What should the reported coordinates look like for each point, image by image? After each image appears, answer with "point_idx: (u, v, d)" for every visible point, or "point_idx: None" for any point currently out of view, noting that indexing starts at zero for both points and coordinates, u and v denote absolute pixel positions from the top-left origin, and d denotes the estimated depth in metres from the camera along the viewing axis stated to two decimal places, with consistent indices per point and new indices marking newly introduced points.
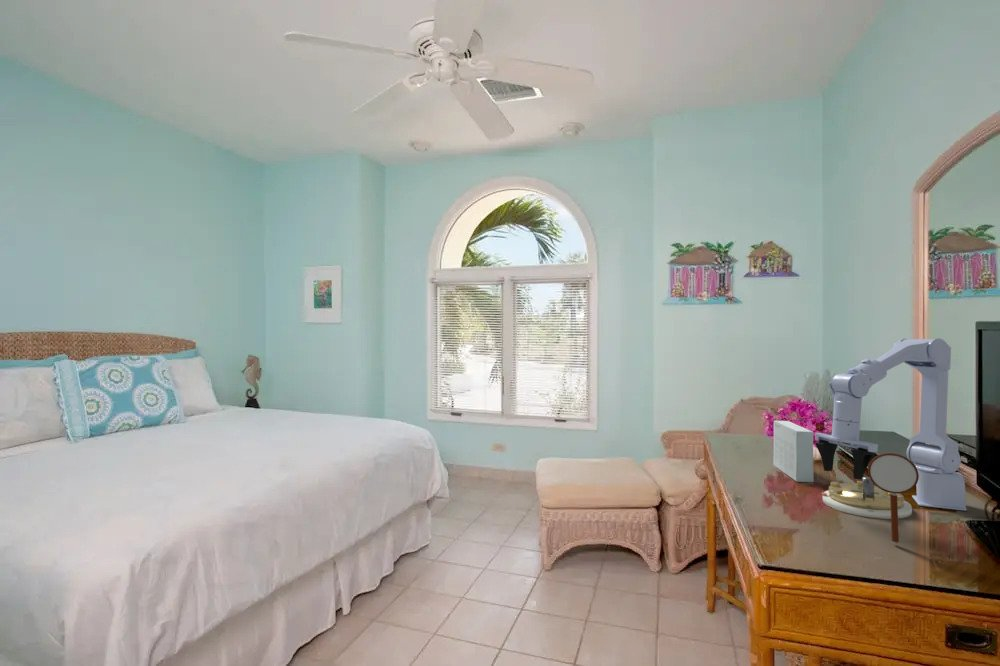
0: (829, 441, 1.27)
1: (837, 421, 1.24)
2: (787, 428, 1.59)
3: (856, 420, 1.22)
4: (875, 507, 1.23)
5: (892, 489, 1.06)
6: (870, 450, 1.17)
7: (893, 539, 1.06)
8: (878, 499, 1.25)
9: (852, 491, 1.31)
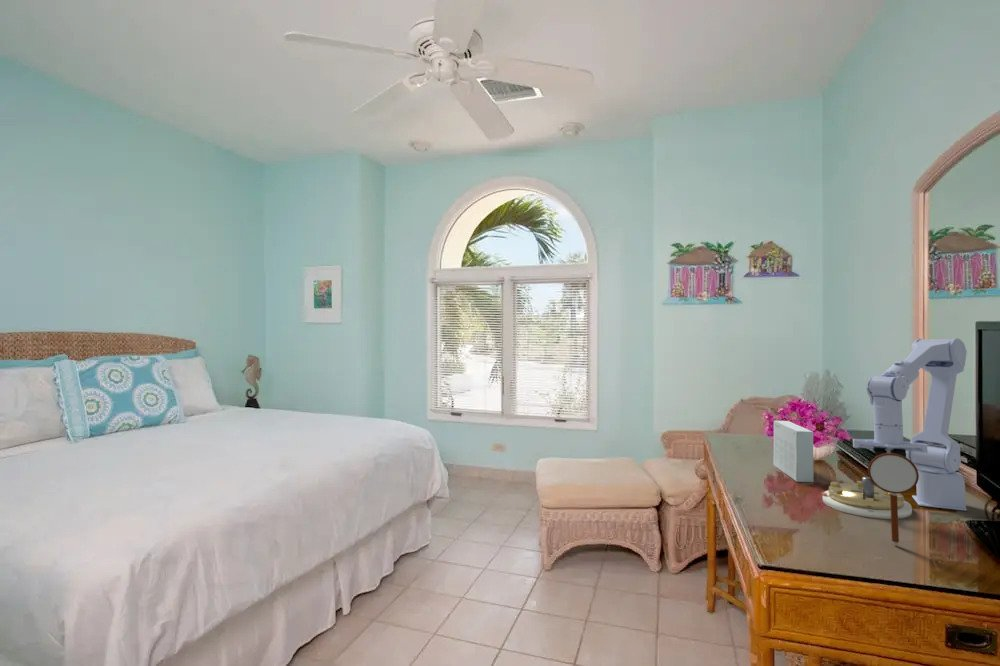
0: (870, 447, 1.24)
1: (889, 427, 1.20)
2: (787, 428, 1.59)
3: (900, 423, 1.20)
4: (875, 507, 1.23)
5: (892, 489, 1.06)
6: (925, 451, 1.18)
7: (893, 539, 1.06)
8: (878, 499, 1.25)
9: (852, 491, 1.31)
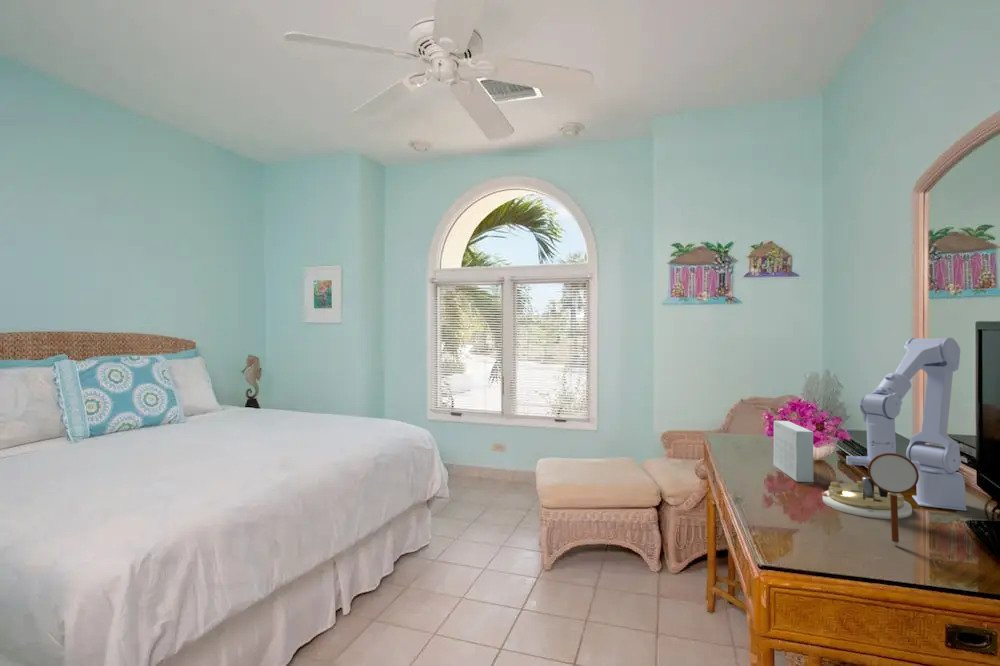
0: (864, 464, 1.25)
1: (882, 445, 1.21)
2: (787, 428, 1.59)
3: (893, 441, 1.21)
4: (875, 507, 1.23)
5: (892, 489, 1.06)
6: (918, 469, 1.19)
7: (893, 539, 1.06)
8: (878, 499, 1.25)
9: (852, 491, 1.31)
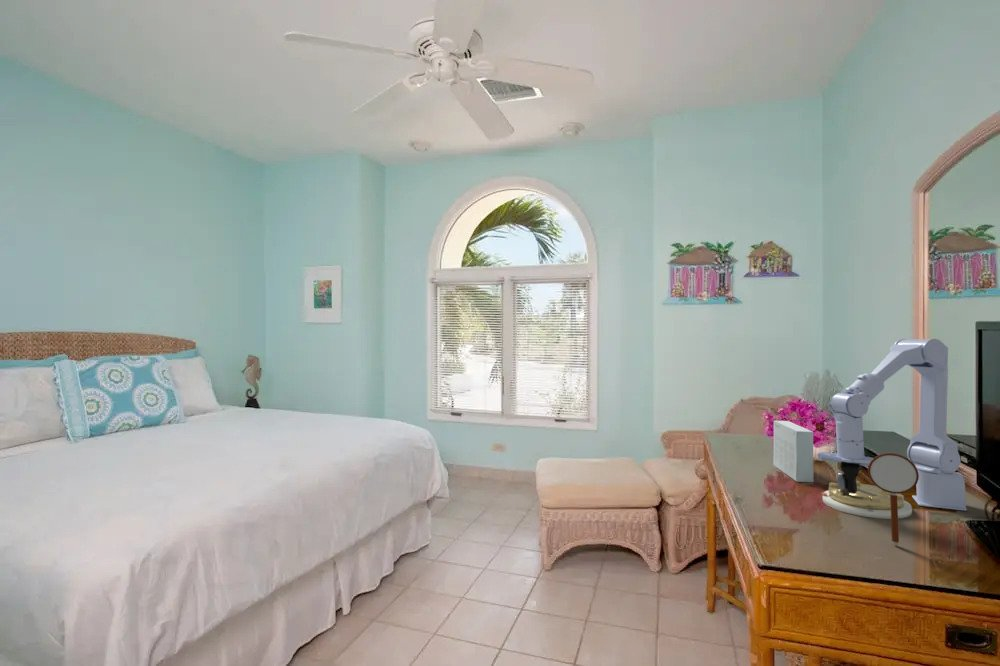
0: (833, 460, 1.30)
1: (845, 442, 1.25)
2: (787, 428, 1.59)
3: (858, 439, 1.24)
4: (843, 501, 1.28)
5: (892, 489, 1.06)
6: None
7: (893, 539, 1.06)
8: (854, 496, 1.27)
9: None
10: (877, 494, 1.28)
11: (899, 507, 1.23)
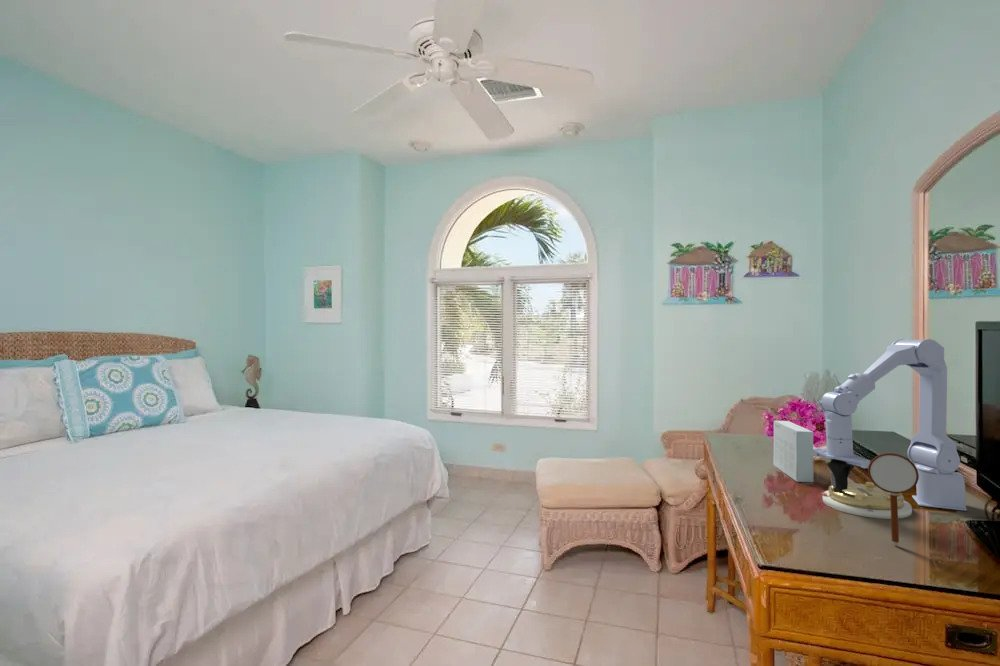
0: None
1: (830, 439, 1.29)
2: (787, 428, 1.59)
3: (846, 437, 1.27)
4: (832, 497, 1.31)
5: (892, 489, 1.06)
6: (863, 466, 1.23)
7: (893, 539, 1.06)
8: (845, 493, 1.30)
9: (856, 488, 1.33)
10: (874, 495, 1.28)
11: (888, 508, 1.22)
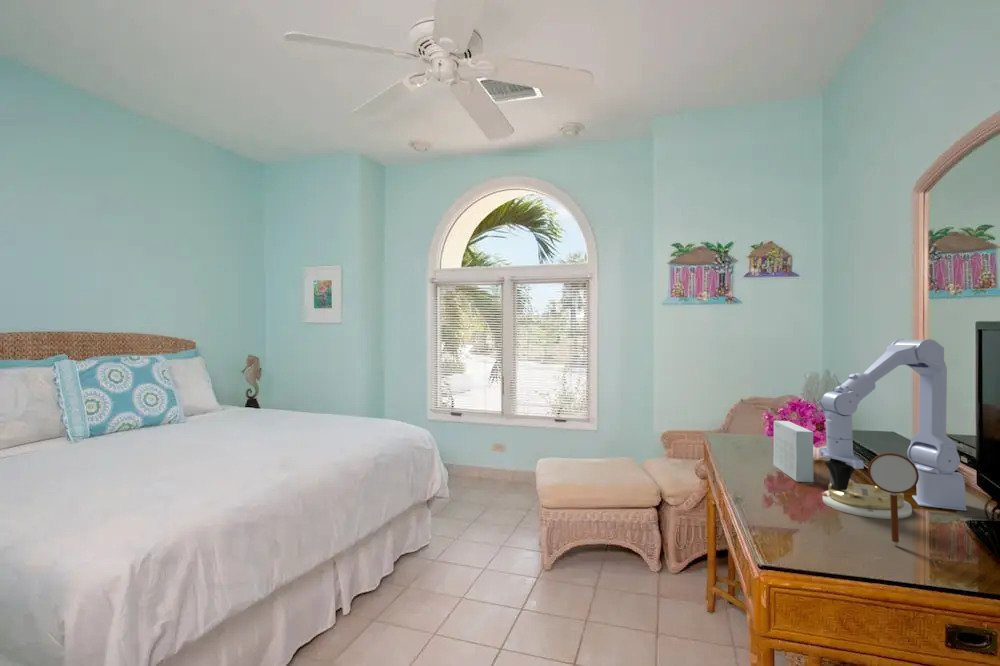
0: None
1: (827, 438, 1.30)
2: (787, 428, 1.59)
3: (846, 437, 1.27)
4: (829, 494, 1.34)
5: (892, 489, 1.06)
6: (854, 467, 1.23)
7: (893, 539, 1.06)
8: (840, 491, 1.32)
9: (860, 488, 1.33)
10: (871, 495, 1.28)
11: (876, 508, 1.23)
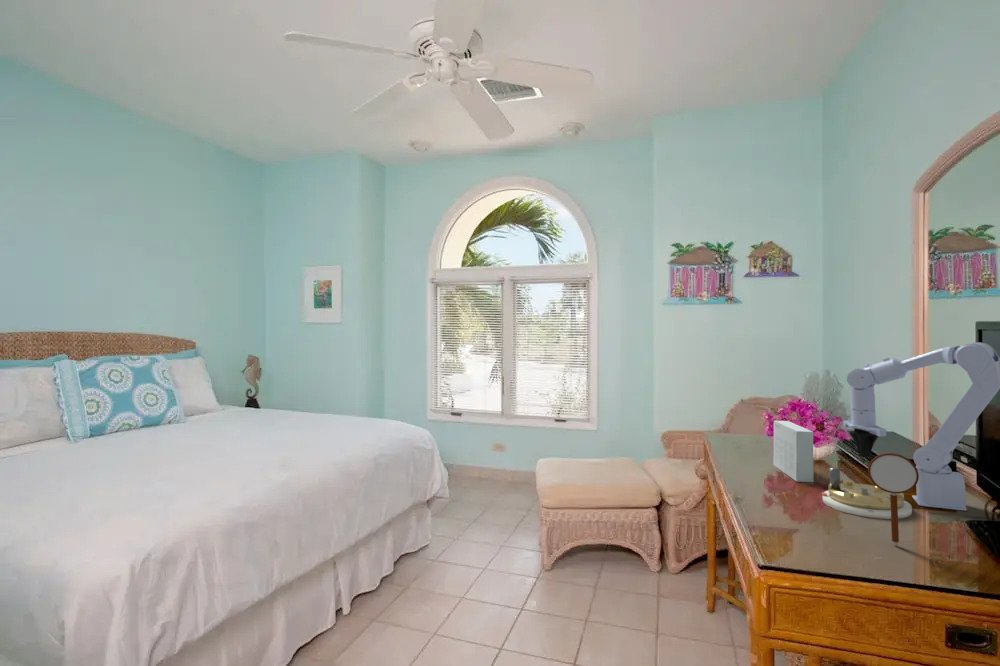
0: (853, 427, 1.46)
1: (852, 410, 1.43)
2: (787, 428, 1.59)
3: (859, 408, 1.41)
4: (829, 494, 1.34)
5: (892, 489, 1.06)
6: (878, 435, 1.36)
7: (893, 539, 1.06)
8: (840, 491, 1.32)
9: (860, 488, 1.33)
10: (871, 495, 1.28)
11: (876, 508, 1.23)
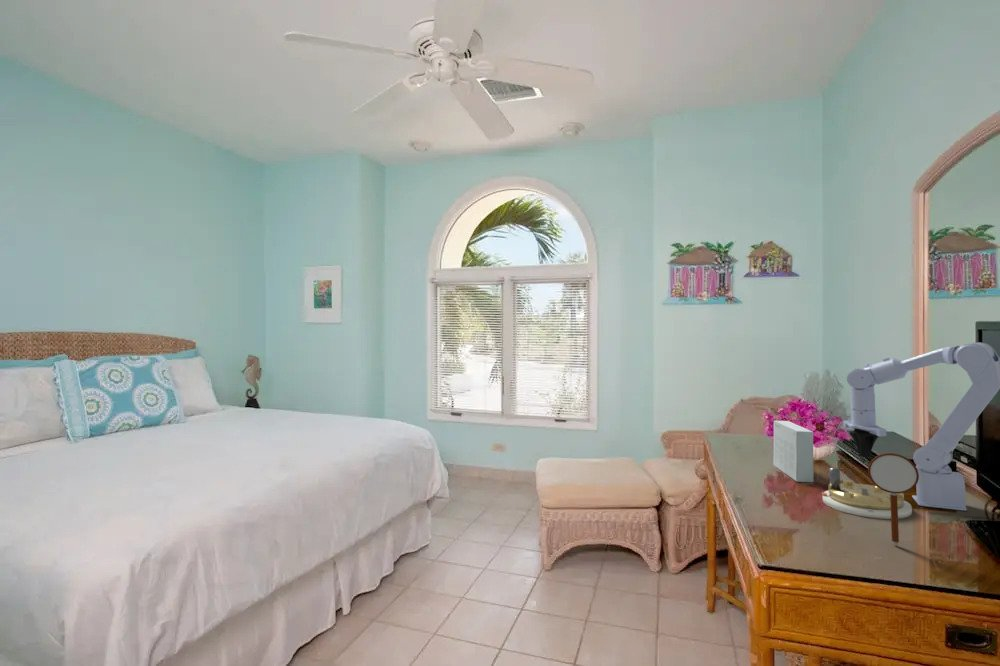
0: (853, 427, 1.46)
1: (852, 410, 1.43)
2: (787, 428, 1.59)
3: (859, 408, 1.41)
4: (829, 494, 1.34)
5: (892, 489, 1.06)
6: (878, 434, 1.36)
7: (893, 539, 1.06)
8: (840, 491, 1.32)
9: (860, 488, 1.33)
10: (871, 495, 1.28)
11: (876, 508, 1.23)
